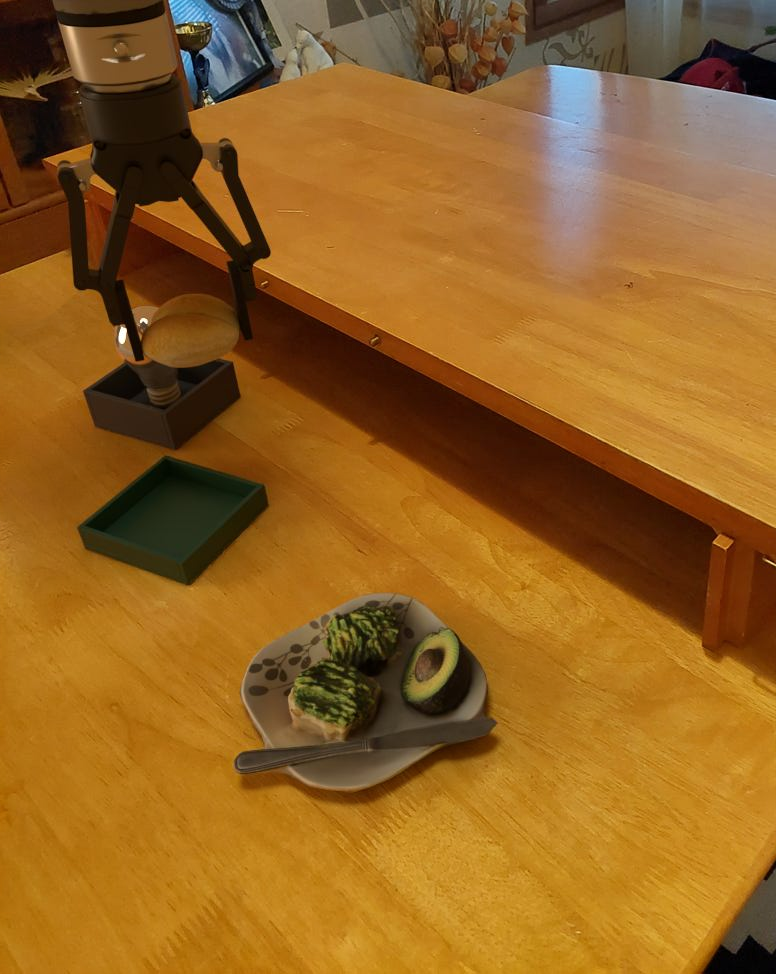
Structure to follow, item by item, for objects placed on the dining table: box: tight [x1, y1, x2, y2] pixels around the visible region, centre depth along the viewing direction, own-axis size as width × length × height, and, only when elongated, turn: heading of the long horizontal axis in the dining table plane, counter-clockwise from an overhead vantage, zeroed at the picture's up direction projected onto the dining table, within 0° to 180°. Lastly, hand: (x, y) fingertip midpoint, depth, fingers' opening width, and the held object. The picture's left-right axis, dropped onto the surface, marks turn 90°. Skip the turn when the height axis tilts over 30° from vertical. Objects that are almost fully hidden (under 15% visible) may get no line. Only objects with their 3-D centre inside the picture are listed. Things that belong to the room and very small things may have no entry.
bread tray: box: [76, 454, 270, 586], centre depth 86 cm, size 12×12×3 cm
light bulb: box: [113, 304, 181, 409], centre depth 99 cm, size 7×7×12 cm
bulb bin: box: [82, 358, 241, 451], centre depth 101 cm, size 11×11×5 cm
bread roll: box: [141, 293, 242, 368], centre depth 82 cm, size 8×9×4 cm
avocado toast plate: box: [233, 592, 499, 794], centre depth 68 cm, size 19×18×5 cm
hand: (193, 343), depth 83 cm, fingers closed on bread roll, 9 cm apart
